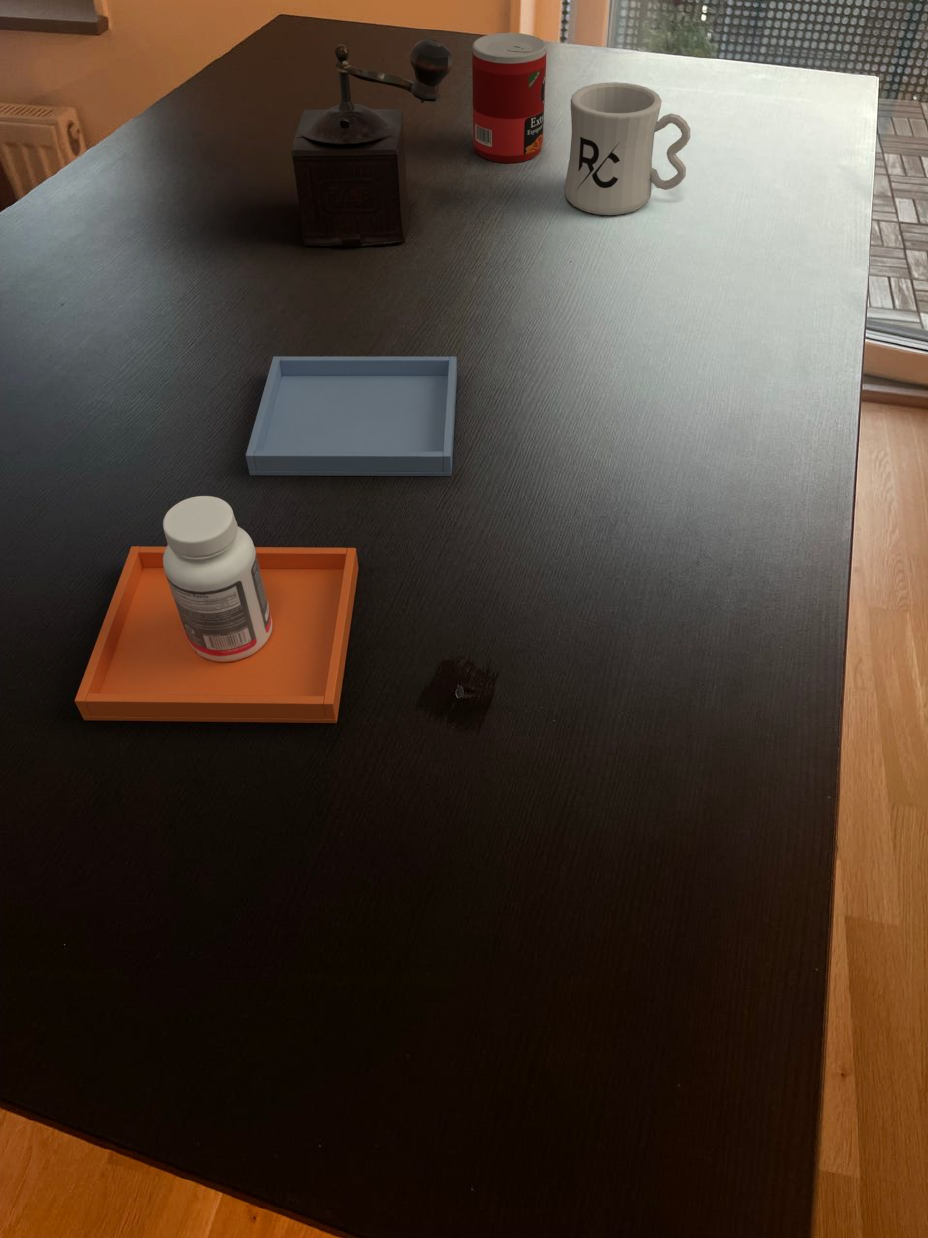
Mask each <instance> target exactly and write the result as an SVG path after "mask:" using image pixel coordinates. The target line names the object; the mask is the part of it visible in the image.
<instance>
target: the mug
mask: <svg viewBox="0 0 928 1238" xmlns="http://www.w3.org/2000/svg"><path fill="white" fill-rule="evenodd" d="M661 107H662V98H661V97H660V95H659V94H658V92H656V91H655V90H653V89H651V88H648V87H646V86H642V85H640V84H635V83H629V82H617V81H616V82H614V81H612V82H610V81H609V82H600V83H592V84H588V85H585V86H583V87H580V88H579V89H577V90H576V91H575V92H574V93H573V94H572V95H571V97H570V118H571V120H570V121H571V122H570V123H571V138H570V149H569V160H568V165H567V170H566V176H565V181H564V194H565V197H566V199H567V200H568V202H569V203H570V204H571V205H572V206H573V207H575V208H577V209H578V210H580V211H584V212H586V213H589V214H594V215H600V216H601V215H603V216H618V215H625V214H629V213H632V212H636V211H638V210H639V209H641V208H642V207H644V206H645V205H646V204H647V203H648V202H649V200H650V199H651V195H652V190H653V185H654V186H655V187H656V188H657V189H660V190H664V191H668V190H671V189H674V188H675V187H677V186H679V185H680V184H681V183H682V182H683V181H684V179H685V178H686V175H687V167H686V165H685V164H684V162H683V160H681V159H680V157H678V156H677V154H678V153H679V152H680V151H681V150H683V149H684V148H685V146H687V145H688V143H689V141H690V139H691V127H690V126H689V124H688V122H687V121H686V120H685V119H684V118H683V117H682V116H681V115H679V114H675V113H669V114H665V115H663V116H662V117H660V118H659V116H660V112H661ZM670 124H672V125H675V126H676V127H677V128H678V129H679V131H680V132H681V136H680V137H679V138H678V139H677V140H676V141H675V142H673V143H672V144H671V145H670V146H669V147H668V148H667V150H666V157H667V161H668V162H669V163H670V165H671V166H672V167H673V168H674V169H675V170H676V172H677V173H676V174H675V175H674V176H673V177H671V178H669V179H667V180H664V179H662V178H661V177H660V175H659V173H658V170H657V169H656V168H653V154H654V153H653V152H654V143H655V134H656V133H657V132H659V131H660V130H663V129H665V128H666V127H667V126H668V125H670Z"/></svg>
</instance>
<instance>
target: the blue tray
mask: <svg viewBox="0 0 928 1238" xmlns="http://www.w3.org/2000/svg"><path fill="white" fill-rule="evenodd" d="M457 361H458V360H457V356H451V355H450V356H278V355H277V356H272V360H271V364H270V367H269V371H268V374H267V378H266V382H265V385H264V389H263V392H262V396H261V398H260V399H261V400H260V403H259V406H258V409H257V412H256V417H255V421H254V424H253V427H252V430H251V435H250V438H249V442H248V446H247V449H246V452H245V460H246V464H247V470H248V473H249V476H279V477H280V476H281V477H282V476H285V477H287V476H291V477H292V476H294V477H296V476H297V477H298V476H299V477H301V476H303V477H304V476H305V477H306V476H308V477H309V476H311V477H452V476H453V475H452V473H453V458H454V457H453V455H454V454H453V453H454V440H455V439H454V438H455V436H454V435H455V419H456V417H455V416H456V404H457V403H456V402H457V401H456V400H457V384H458V362H457Z"/></svg>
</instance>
